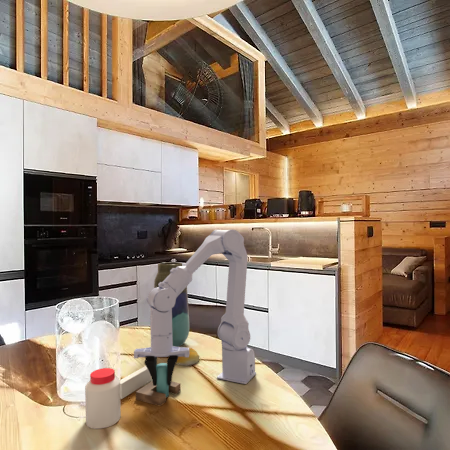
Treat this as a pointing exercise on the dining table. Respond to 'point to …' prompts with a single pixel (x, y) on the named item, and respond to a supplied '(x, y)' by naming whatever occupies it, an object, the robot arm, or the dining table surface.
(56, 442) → the dining table surface
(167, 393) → the dowel
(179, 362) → the bread roll
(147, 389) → the block
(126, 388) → the board
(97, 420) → the pill bottle
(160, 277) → the vase
